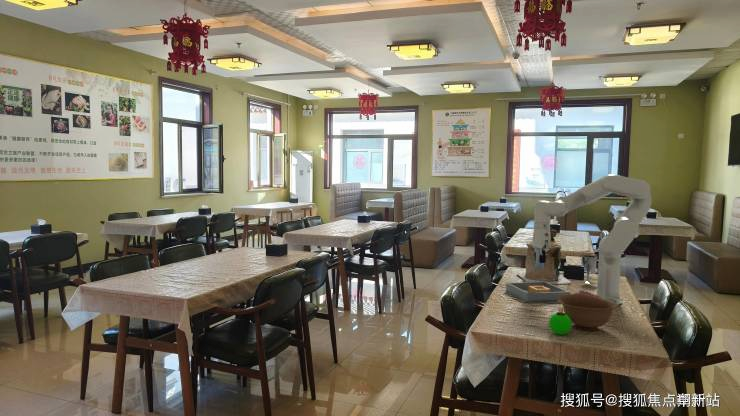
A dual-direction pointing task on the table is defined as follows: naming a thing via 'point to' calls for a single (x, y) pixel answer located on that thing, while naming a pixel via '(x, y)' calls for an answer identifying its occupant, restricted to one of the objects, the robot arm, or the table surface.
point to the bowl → (587, 310)
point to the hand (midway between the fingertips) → (539, 261)
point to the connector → (538, 265)
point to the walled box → (522, 293)
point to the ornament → (560, 323)
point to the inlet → (538, 289)
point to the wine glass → (588, 265)
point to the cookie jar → (550, 267)
